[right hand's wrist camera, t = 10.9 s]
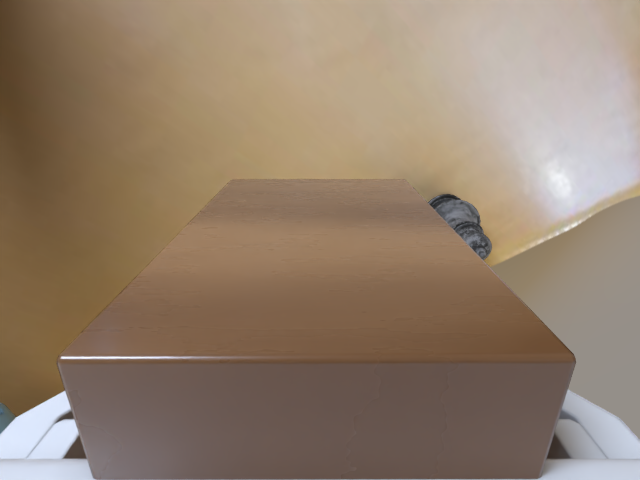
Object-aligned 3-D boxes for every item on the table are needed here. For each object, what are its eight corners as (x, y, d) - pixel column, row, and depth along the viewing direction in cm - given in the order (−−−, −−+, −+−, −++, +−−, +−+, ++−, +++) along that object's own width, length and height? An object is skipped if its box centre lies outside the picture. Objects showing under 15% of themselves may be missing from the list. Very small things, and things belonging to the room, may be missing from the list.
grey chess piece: (479, 210, 45) (530, 249, 34) (445, 247, 47) (483, 295, 36) (442, 182, 44) (484, 212, 33) (409, 220, 46) (437, 262, 35)
